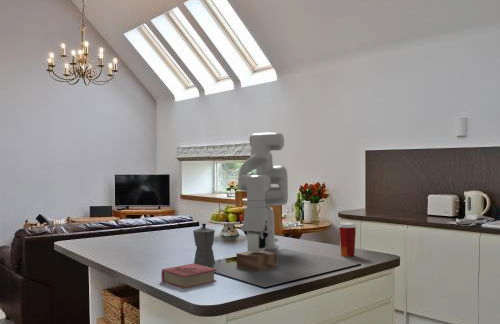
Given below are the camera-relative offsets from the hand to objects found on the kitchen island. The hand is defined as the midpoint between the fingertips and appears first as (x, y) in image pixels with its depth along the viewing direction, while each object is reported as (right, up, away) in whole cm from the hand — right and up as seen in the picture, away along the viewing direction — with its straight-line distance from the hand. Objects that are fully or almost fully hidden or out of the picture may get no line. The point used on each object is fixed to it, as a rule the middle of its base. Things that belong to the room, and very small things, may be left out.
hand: (256, 246), depth 197 cm
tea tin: (0, -2, 0) cm, 2 cm away
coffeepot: (-23, -9, +5) cm, 25 cm away
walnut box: (0, -9, 0) cm, 9 cm away
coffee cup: (+43, -8, +22) cm, 49 cm away
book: (-26, -9, -24) cm, 36 cm away
